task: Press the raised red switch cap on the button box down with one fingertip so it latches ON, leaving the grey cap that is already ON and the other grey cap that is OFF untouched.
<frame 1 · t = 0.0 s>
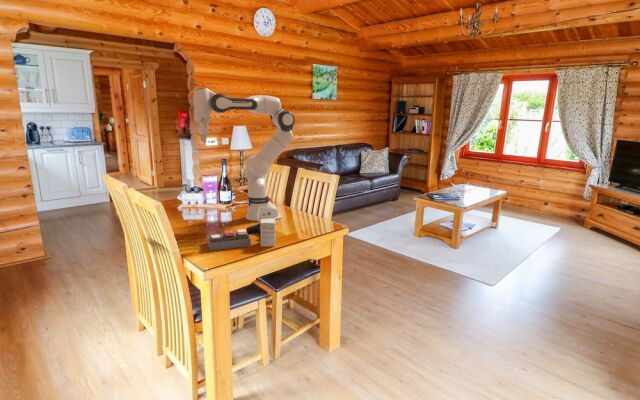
hand: (203, 142, 213), 48 cm above the table, fingers open, 8 cm apart
button 1: (215, 237, 183), point 5 cm above the table, slide at -1.5 cm
button box: (228, 244, 188), on the table
gaming controller: (260, 235, 204), on the table
supplement box: (268, 244, 190), on the table
button 2: (242, 231, 187), point 7 cm above the table, slide at 0.0 cm
red button: (229, 233, 185), point 7 cm above the table, slide at 0.0 cm
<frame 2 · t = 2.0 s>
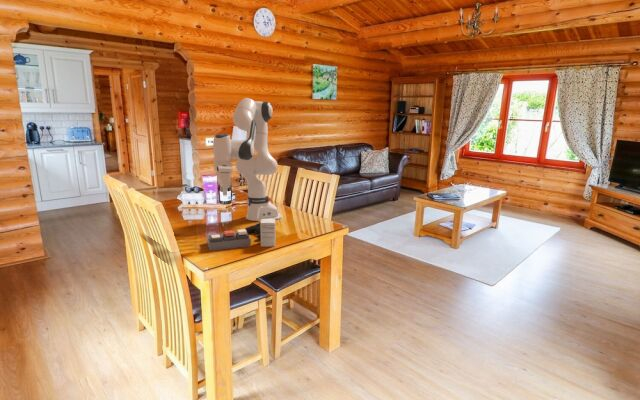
hand: (223, 193, 189), 25 cm above the table, fingers open, 8 cm apart
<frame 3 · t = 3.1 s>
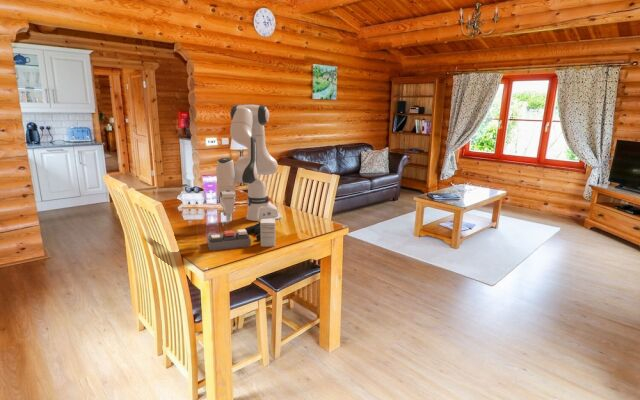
hand: (226, 217, 187), 14 cm above the table, fingers open, 8 cm apart
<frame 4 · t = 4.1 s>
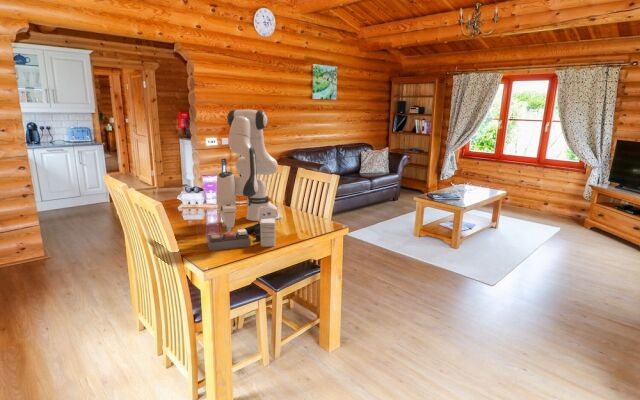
hand: (227, 230, 189), 7 cm above the table, fingers open, 8 cm apart
red button: (229, 235, 185), point 6 cm above the table, slide at -1.0 cm, touching gripper
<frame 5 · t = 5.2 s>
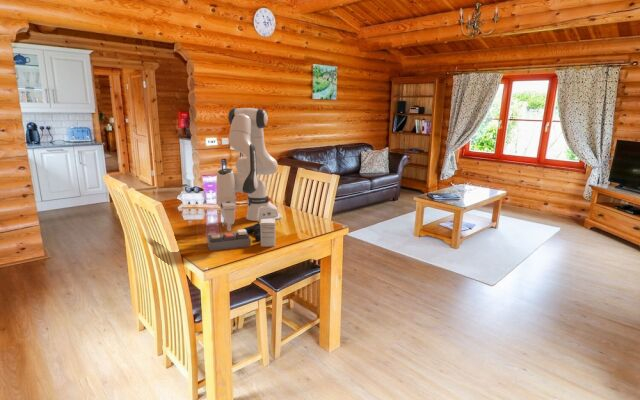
hand: (227, 227, 189), 8 cm above the table, fingers open, 8 cm apart
red button: (229, 236, 185), point 5 cm above the table, slide at -1.6 cm
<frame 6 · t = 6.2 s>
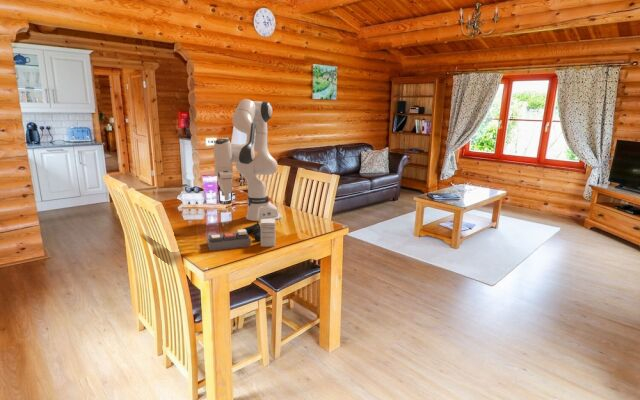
hand: (225, 197, 192), 22 cm above the table, fingers open, 8 cm apart
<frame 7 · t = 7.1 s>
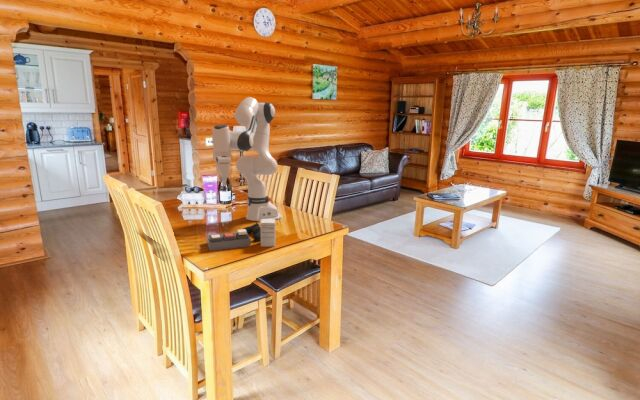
hand: (223, 183, 192), 29 cm above the table, fingers open, 8 cm apart
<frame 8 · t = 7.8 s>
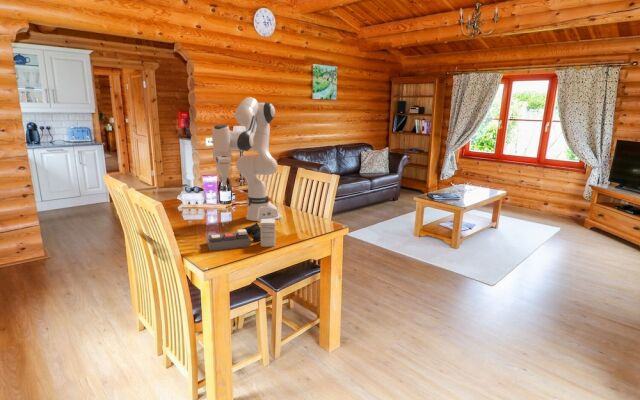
hand: (223, 183, 192), 29 cm above the table, fingers open, 8 cm apart
at the end: red button slide at -1.6 cm; button 1 slide at -1.5 cm; button 2 slide at 0.0 cm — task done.
